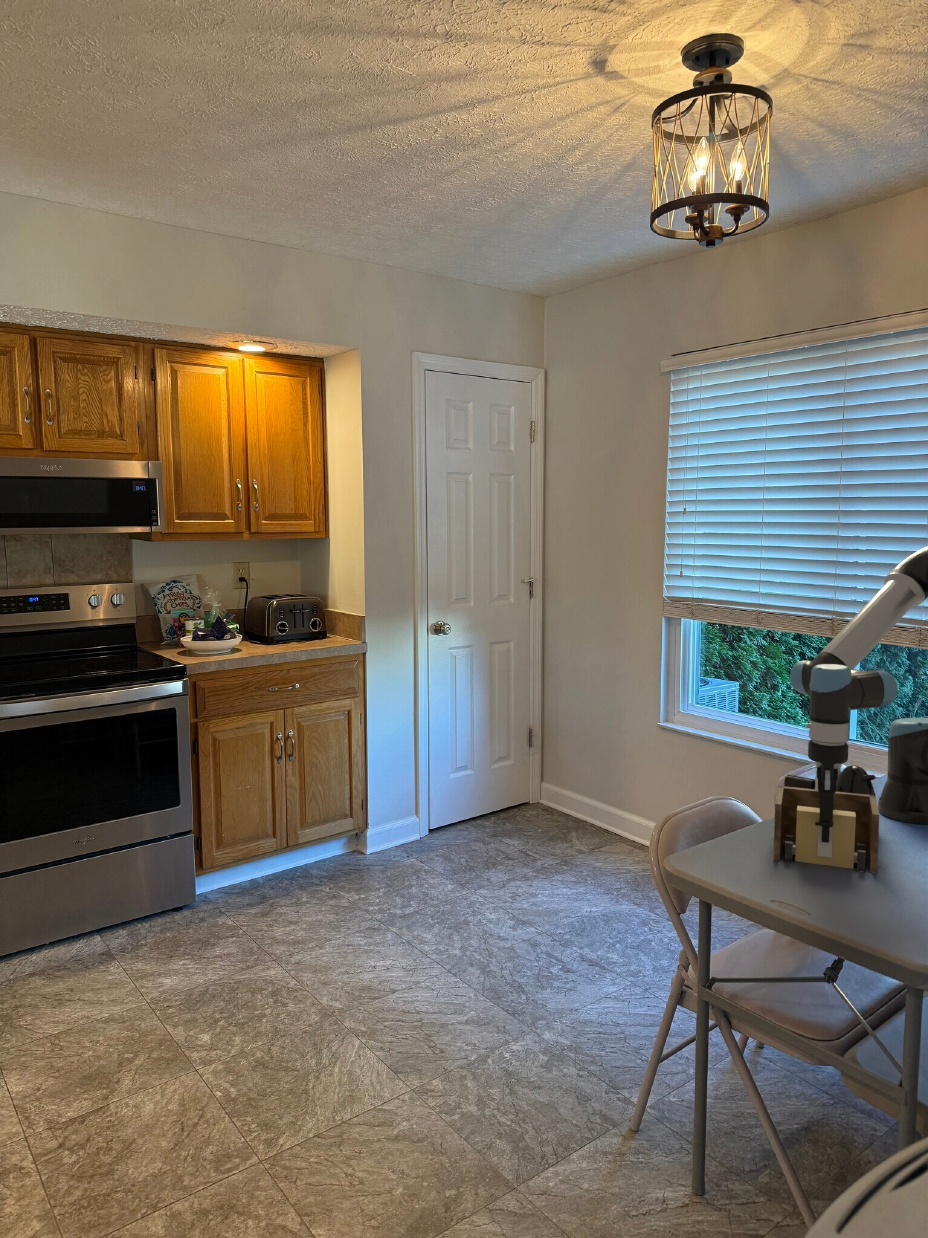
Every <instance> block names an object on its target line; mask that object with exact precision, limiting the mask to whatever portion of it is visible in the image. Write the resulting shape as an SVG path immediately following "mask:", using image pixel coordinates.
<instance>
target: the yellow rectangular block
mask: <svg viewBox="0 0 928 1238" xmlns="http://www.w3.org/2000/svg"><path fill="white" fill-rule="evenodd" d="M819 817H820V808H813V807H804V806H797V825H796V843H795V844H794V843H793V851H792V854H793V856H795V858H794V862H798V863H799V862H800V863H807V864H808V863H809V864H815V865H821V866H822V865H823V866H831V867H837V868H845V869H851V870H852V869H854V866H855V865H854V864H856V863H857V852H856V851H855V850H854V845H855V823H856V815H855V812H849V811H840V810H833V837H832V858H830V857H822V856H817V851H818V826H817V825H815V822H819Z"/></svg>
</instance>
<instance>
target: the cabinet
mask: <svg viewBox="0 0 928 1238" xmlns="http://www.w3.org/2000/svg"><path fill="white" fill-rule="evenodd" d="M876 796H877V795H876V794H875V795H865V794H855V793H845V792H835V793H834V801H833V810H840V811H849V812H855V815H856V823H855V845H854V851H855V852H857V863H855V865H856V866H855V867H856V871H857V872H865V871H866V853H867V861H868V866H869V873H872V874H878V858H879V857H878V856H879V855H878V854H879V853H878V852H879V833H880V832H879V831H880V830H879V829H880V812H879V811H878V801H876V800H877V797H876ZM775 798H776V799H775V802H774V830H773V831H774V832H773V834H774V835H773V861H781V851H782V843H783V842H784V843H785V844H784V845H785V847H784V862H787V863H793V856H794V855H793V854H792V851H793V844H794V843H795V844H796V825H797V806H804V807H813V808H819V803H820V792H819V791H818V790H815V789H805V788H795V787H784V785H783V786H782V785H778V786H777V789H776V795H775Z"/></svg>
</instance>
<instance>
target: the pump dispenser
mask: <svg viewBox="0 0 928 1238" xmlns="http://www.w3.org/2000/svg"><path fill="white" fill-rule="evenodd" d="M875 779H876V775H875V774H868V773H867V771H866V770H865V769H864V768H863V767H861V766H859V765H855V764H854V765H853V764H851V765H848V766H846V767H844V768H843V770H841V773H840V775H839V777H838V780H837V781H836V792H845V793H855V794H865V795H875V796H876V792H875V788H874V786H873V782H872V780H875ZM876 801H877V799H876ZM877 802H878V801H877Z"/></svg>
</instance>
